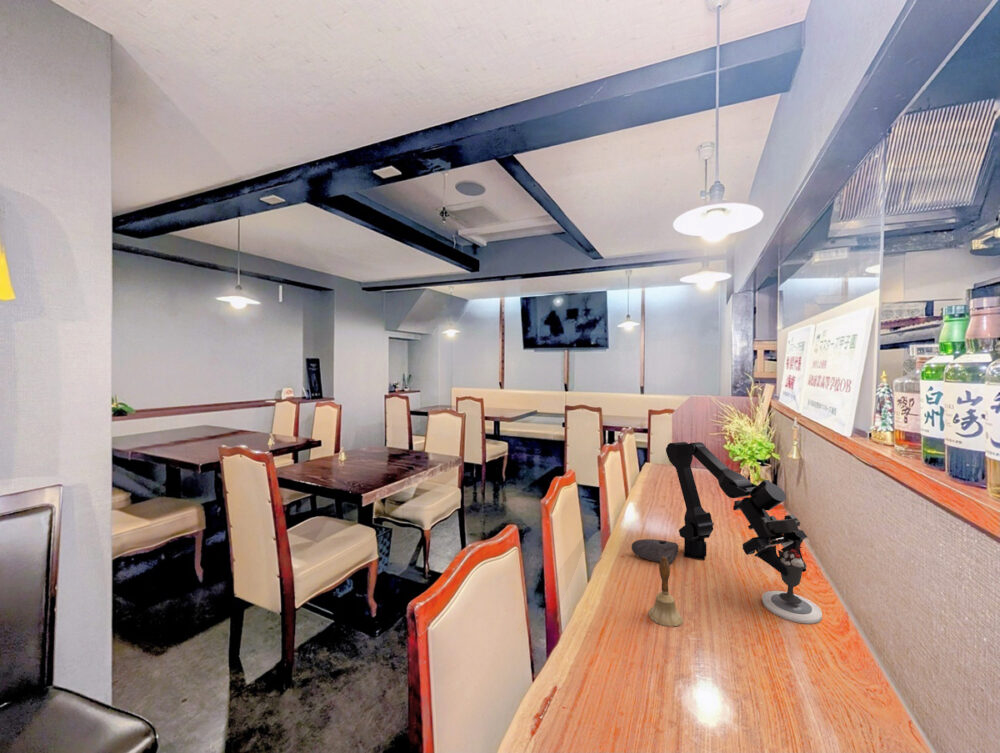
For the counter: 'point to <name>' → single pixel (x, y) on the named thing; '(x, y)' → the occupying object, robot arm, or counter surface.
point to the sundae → (791, 574)
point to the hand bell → (665, 601)
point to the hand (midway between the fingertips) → (795, 573)
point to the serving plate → (792, 608)
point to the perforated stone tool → (655, 549)
